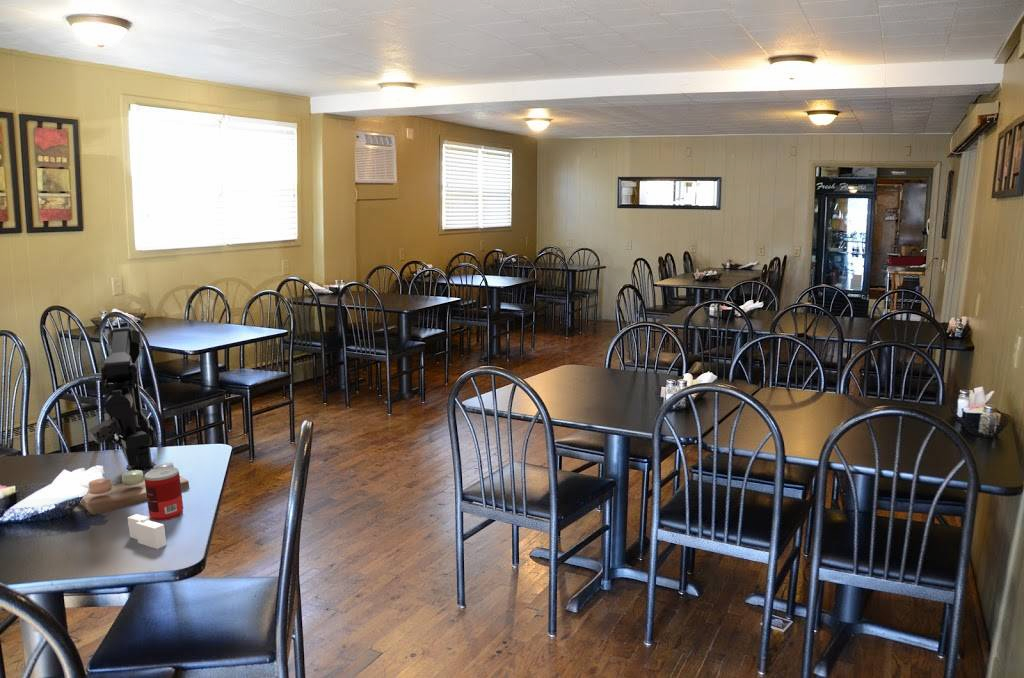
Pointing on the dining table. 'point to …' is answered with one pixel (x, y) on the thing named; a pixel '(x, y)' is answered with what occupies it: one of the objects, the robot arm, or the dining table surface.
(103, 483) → the button terracotta
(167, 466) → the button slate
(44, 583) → the dining table surface
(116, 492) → the panel
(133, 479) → the button sage
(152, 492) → the canned food
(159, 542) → the white stepped block
